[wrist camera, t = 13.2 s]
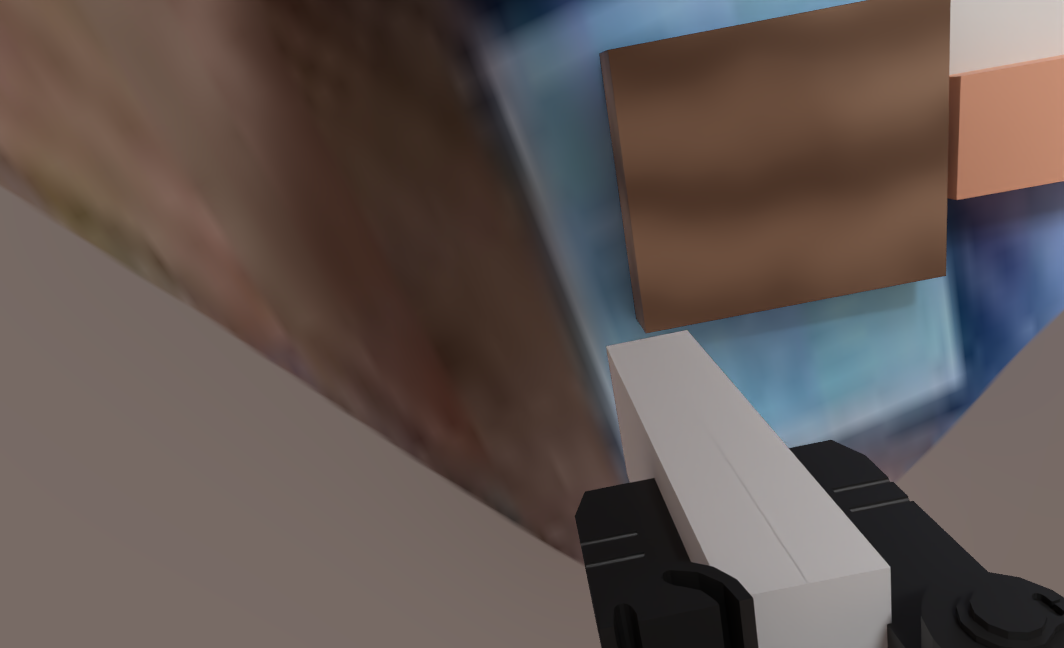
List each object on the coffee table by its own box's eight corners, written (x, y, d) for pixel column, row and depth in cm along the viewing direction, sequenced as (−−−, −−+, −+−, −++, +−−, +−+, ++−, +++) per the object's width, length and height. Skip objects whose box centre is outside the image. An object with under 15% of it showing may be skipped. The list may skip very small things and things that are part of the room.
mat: (917, -8, 33) (921, -9, 33) (1176, -58, 33) (1182, -59, 33) (917, 193, 37) (921, 194, 36) (1153, 148, 37) (1159, 148, 36)
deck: (599, 53, 33) (607, 50, 31) (917, -8, 33) (950, -16, 31) (636, 318, 38) (646, 333, 36) (917, 264, 38) (945, 275, 36)
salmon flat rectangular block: (932, 195, 36) (956, 200, 35) (934, 77, 35) (961, 76, 33) (1096, 165, 36) (1130, 169, 35) (1108, 46, 35) (1144, 43, 33)
